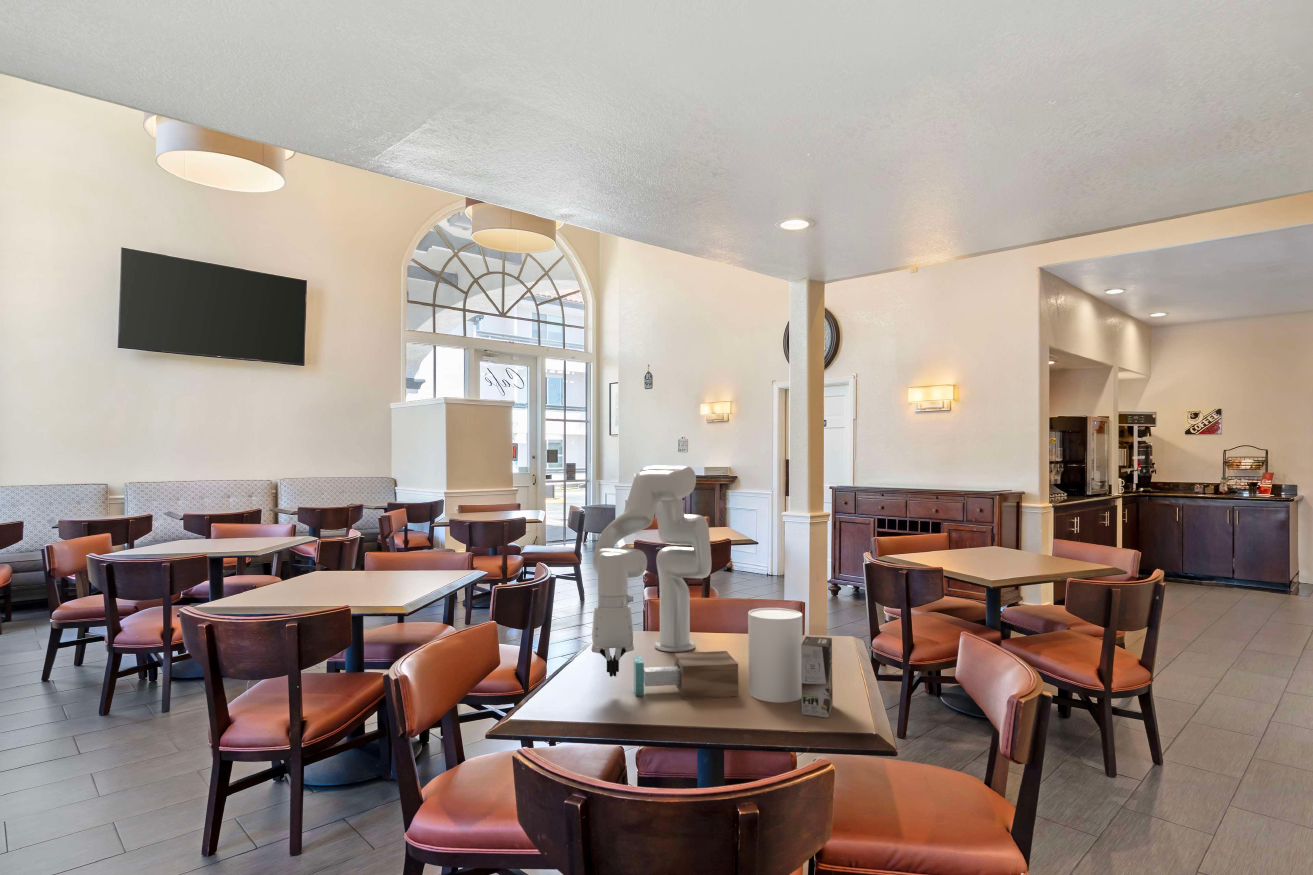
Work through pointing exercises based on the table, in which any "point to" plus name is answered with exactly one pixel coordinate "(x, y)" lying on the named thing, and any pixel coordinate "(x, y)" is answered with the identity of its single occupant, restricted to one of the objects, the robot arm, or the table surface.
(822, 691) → the coffee box
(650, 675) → the peg
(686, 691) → the block
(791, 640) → the canister
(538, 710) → the table surface
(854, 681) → the table surface
